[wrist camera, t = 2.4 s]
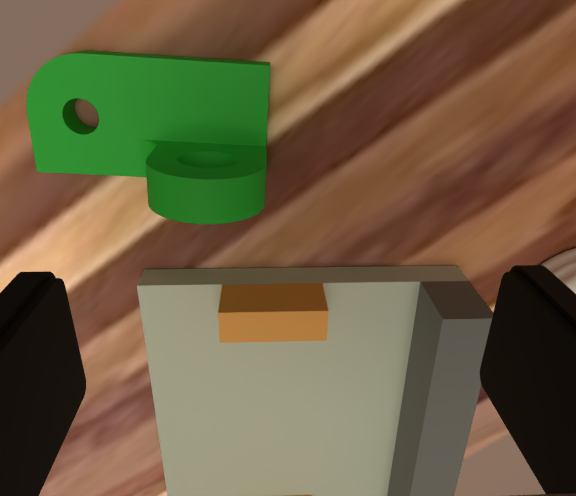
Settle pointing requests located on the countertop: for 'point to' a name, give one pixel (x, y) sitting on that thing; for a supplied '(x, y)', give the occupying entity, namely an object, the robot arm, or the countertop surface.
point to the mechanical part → (159, 128)
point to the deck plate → (313, 378)
